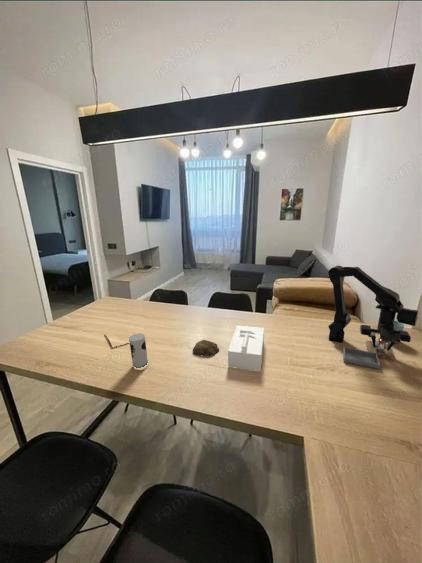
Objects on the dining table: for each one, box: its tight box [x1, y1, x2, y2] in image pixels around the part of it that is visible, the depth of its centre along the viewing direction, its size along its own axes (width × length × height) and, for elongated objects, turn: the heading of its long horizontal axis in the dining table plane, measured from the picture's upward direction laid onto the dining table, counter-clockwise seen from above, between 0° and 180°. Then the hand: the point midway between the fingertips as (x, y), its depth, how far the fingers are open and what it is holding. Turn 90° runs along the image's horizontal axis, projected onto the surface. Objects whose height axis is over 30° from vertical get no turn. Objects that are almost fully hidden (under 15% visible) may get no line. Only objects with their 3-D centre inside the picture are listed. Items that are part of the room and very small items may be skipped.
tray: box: [342, 346, 381, 371], centre depth 110 cm, size 14×10×2 cm
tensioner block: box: [365, 340, 396, 361], centre depth 117 cm, size 10×12×3 cm
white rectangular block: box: [227, 325, 265, 372], centre depth 117 cm, size 14×25×11 cm, turn 165°
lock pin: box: [376, 337, 388, 353], centre depth 114 cm, size 3×3×8 cm
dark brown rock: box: [192, 339, 220, 357], centre depth 122 cm, size 13×12×5 cm
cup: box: [394, 320, 405, 331], centre depth 124 cm, size 8×8×10 cm
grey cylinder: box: [129, 333, 149, 368], centre depth 109 cm, size 7×7×15 cm
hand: (380, 349), depth 114 cm, fingers open, 5 cm apart
